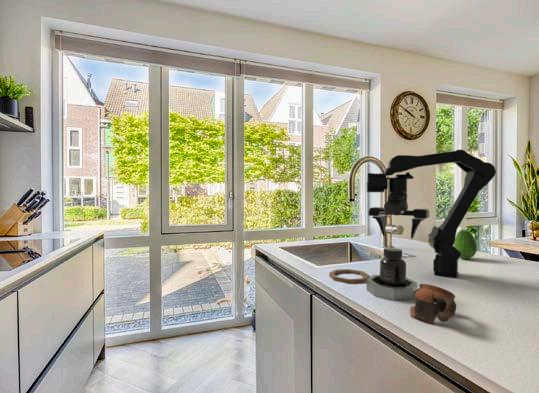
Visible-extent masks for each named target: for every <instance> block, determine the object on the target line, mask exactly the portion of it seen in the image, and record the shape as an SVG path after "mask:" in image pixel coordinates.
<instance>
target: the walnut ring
mask: <svg viewBox="0 0 539 393" xmlns="http://www.w3.org/2000/svg"><path fill="white" fill-rule="evenodd" d="M328 274H329V275H328V277H329V278H331V279H332V281H335V282H341V283H345V284H363V283H367V279H368V278H369V277H371V275H370V274H368V273H366V272H365V271H362V270H357V269H351V268H348V269H347V268H344V269H343V268H342V269H341V268H340V269H334V270H332V271H330V272H329V273H328ZM338 274H354V275H360V276H361V277H360V278H345V277H341V276H338Z"/></svg>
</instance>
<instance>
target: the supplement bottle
mask: <svg viewBox="0 0 539 393" xmlns="http://www.w3.org/2000/svg"><path fill="white" fill-rule="evenodd" d="M402 258H403V249H400V248H396V247H395V248H394V247H391V248H390V247H389V248H388V247H386V248H384V249H383V257H382V258H381V260H380V261H379V275H380V285H384V286H389V287H406V278H407V263H406V261H405V260H404V259H402Z"/></svg>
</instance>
